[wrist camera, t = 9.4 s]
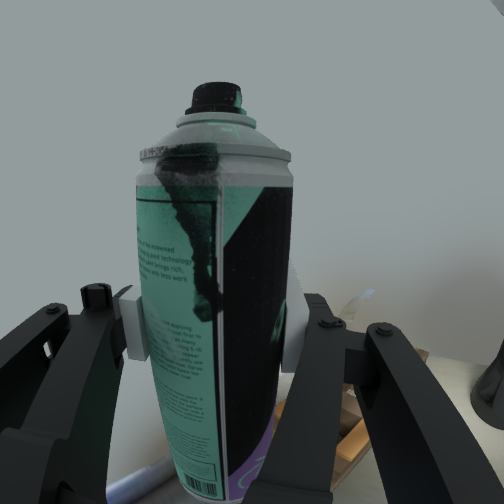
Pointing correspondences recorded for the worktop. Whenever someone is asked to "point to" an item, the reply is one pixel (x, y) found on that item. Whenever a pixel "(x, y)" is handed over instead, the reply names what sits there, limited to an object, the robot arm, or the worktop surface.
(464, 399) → the worktop surface
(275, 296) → the spray can
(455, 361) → the worktop surface
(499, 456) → the worktop surface
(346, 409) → the rack
